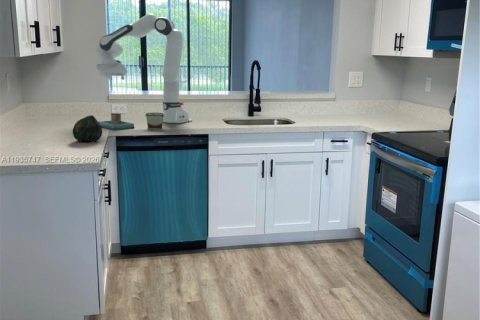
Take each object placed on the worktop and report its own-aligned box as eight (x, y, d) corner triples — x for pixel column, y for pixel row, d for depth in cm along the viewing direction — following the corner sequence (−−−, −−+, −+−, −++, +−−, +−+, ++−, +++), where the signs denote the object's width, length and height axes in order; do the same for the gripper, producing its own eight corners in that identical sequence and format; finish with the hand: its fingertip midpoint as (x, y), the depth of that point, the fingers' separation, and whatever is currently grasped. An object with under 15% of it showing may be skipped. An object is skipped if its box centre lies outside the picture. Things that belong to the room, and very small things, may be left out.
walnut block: (117, 124, 303) (117, 112, 301) (121, 125, 300) (120, 113, 298) (111, 125, 300) (111, 113, 298) (115, 126, 297) (114, 113, 295)
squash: (66, 129, 252) (74, 111, 243) (92, 128, 263) (100, 110, 254) (75, 149, 247) (84, 131, 238) (101, 147, 257) (110, 130, 248)
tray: (117, 124, 312) (117, 119, 311) (134, 128, 298) (133, 123, 298) (98, 126, 302) (98, 121, 302) (114, 130, 289) (114, 125, 288)
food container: (166, 127, 302) (166, 112, 300) (164, 129, 296) (164, 113, 294) (148, 127, 303) (148, 112, 301) (145, 128, 298) (145, 113, 295)
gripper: (97, 61, 313) (105, 76, 308) (123, 61, 327) (131, 76, 322) (94, 67, 317) (101, 82, 312) (120, 67, 331) (128, 82, 326)
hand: (117, 79), depth 317 cm, fingers open, 8 cm apart
